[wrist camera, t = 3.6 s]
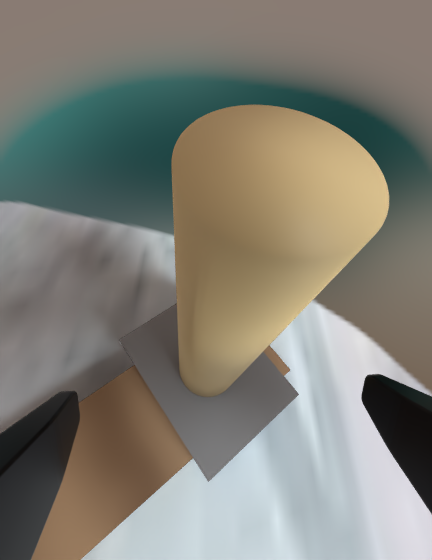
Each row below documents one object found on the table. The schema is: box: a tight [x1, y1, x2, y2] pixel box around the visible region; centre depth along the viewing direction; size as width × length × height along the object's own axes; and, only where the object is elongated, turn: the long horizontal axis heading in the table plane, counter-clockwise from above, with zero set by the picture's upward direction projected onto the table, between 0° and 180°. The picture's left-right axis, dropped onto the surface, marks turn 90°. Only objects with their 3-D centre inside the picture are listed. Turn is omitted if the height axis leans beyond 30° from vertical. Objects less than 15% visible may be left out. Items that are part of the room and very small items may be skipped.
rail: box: [31, 345, 290, 560], centre depth 15 cm, size 22×6×2 cm, turn 128°
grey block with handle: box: [119, 105, 389, 482], centre depth 11 cm, size 6×8×16 cm
